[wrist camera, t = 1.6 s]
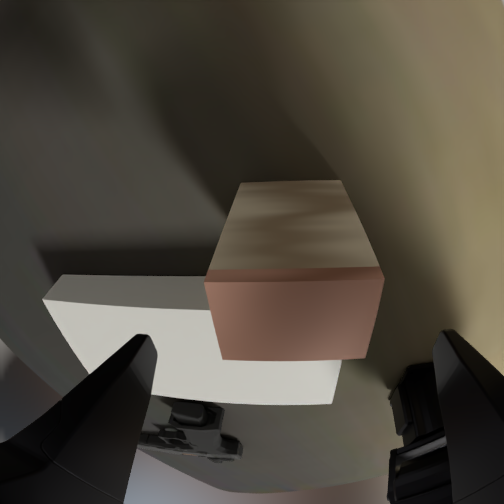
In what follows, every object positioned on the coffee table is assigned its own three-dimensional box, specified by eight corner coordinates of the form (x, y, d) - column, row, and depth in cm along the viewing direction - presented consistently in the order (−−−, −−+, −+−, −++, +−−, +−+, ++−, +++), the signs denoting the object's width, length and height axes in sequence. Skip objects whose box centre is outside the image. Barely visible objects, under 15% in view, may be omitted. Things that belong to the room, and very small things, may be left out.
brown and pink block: (340, 180, 14) (384, 279, 8) (337, 240, 16) (364, 358, 10) (240, 182, 15) (203, 282, 8) (247, 242, 17) (222, 359, 10)
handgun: (69, 405, 30) (135, 454, 38) (206, 421, 24) (260, 467, 31) (79, 387, 33) (141, 438, 40) (213, 393, 27) (263, 447, 34)
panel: (343, 274, 17) (351, 308, 15) (329, 372, 23) (331, 403, 20) (62, 274, 20) (42, 299, 17) (108, 359, 25) (96, 383, 23)
